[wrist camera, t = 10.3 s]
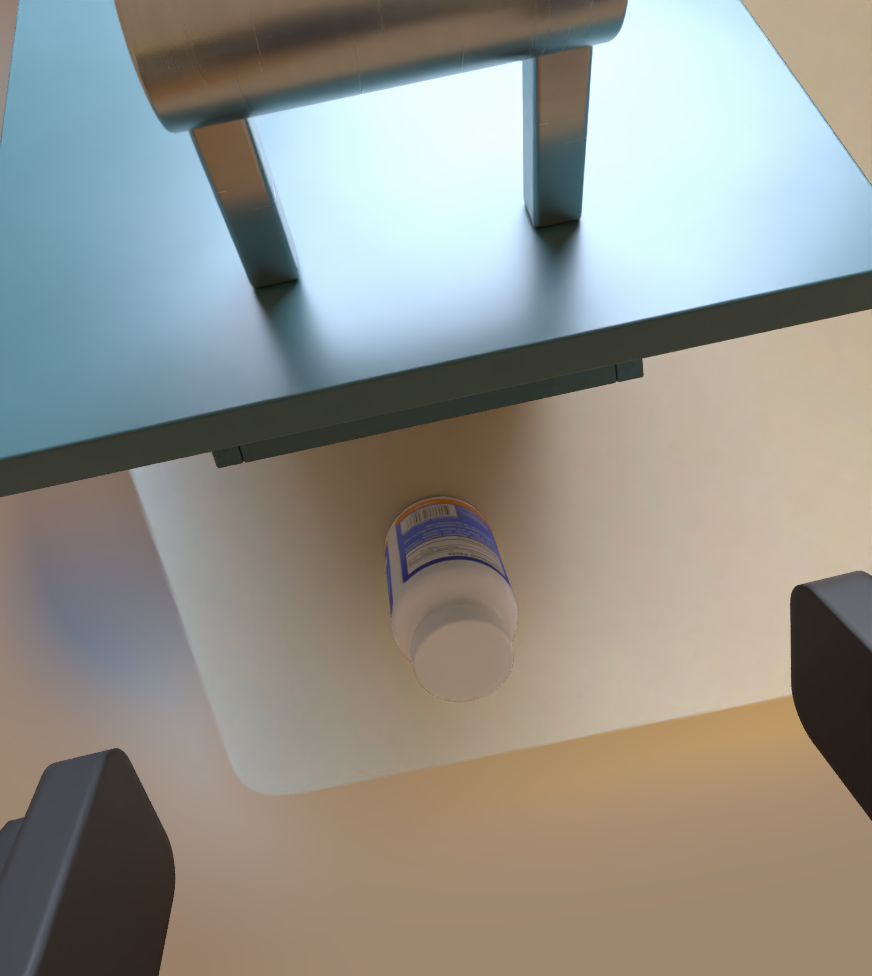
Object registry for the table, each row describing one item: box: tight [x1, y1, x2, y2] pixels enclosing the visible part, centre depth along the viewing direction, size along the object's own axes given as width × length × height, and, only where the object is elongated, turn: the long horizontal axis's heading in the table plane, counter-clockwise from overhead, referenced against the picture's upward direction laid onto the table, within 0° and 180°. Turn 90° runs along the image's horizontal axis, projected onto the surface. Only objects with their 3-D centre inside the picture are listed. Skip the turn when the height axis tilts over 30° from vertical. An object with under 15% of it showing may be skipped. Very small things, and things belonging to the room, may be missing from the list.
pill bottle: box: [385, 497, 518, 702], centre depth 37 cm, size 5×5×10 cm
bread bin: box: [212, 359, 644, 468], centre depth 27 cm, size 13×13×13 cm
